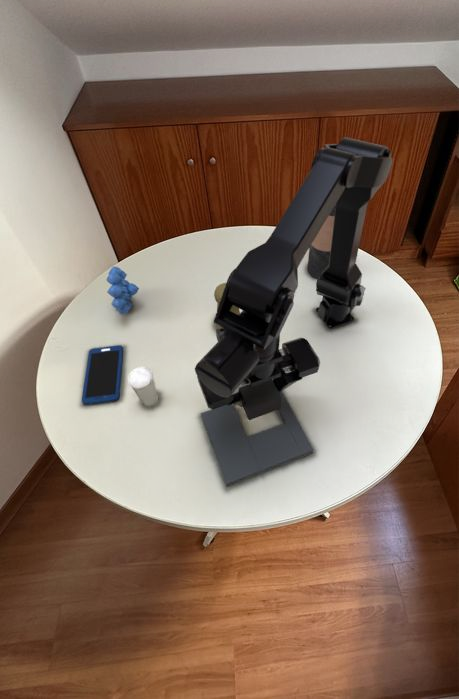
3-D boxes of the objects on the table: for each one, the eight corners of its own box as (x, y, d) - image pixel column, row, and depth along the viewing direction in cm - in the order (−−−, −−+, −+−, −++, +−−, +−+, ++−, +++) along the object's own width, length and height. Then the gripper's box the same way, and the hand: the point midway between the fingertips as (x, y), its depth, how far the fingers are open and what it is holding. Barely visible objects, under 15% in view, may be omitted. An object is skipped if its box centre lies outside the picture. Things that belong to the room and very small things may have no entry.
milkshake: (155, 416, 70) (142, 388, 62) (134, 403, 72) (119, 375, 64) (169, 398, 73) (159, 369, 65) (149, 386, 74) (136, 357, 67)
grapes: (145, 324, 85) (131, 285, 76) (115, 328, 85) (98, 290, 75) (145, 290, 92) (132, 251, 83) (118, 294, 92) (102, 254, 83)
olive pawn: (239, 335, 81) (237, 300, 73) (213, 332, 82) (208, 297, 74) (244, 316, 85) (243, 279, 76) (219, 313, 86) (215, 277, 77)
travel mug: (339, 279, 91) (357, 205, 75) (307, 280, 91) (319, 206, 75) (334, 260, 95) (349, 185, 80) (304, 261, 96) (314, 187, 80)
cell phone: (123, 346, 81) (122, 344, 81) (119, 400, 73) (118, 398, 72) (90, 350, 81) (89, 348, 80) (82, 405, 72) (80, 403, 72)
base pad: (278, 389, 72) (278, 385, 71) (312, 453, 64) (313, 449, 63) (201, 416, 70) (200, 413, 68) (226, 487, 61) (226, 484, 60)
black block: (266, 382, 67) (267, 369, 64) (280, 409, 64) (281, 397, 61) (236, 392, 66) (235, 380, 63) (248, 420, 63) (248, 409, 60)
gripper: (293, 288, 58) (286, 348, 71) (180, 322, 55) (194, 379, 67) (328, 338, 52) (314, 395, 64) (203, 380, 49) (213, 432, 61)
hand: (258, 398), depth 64 cm, fingers closed on black block, 6 cm apart
